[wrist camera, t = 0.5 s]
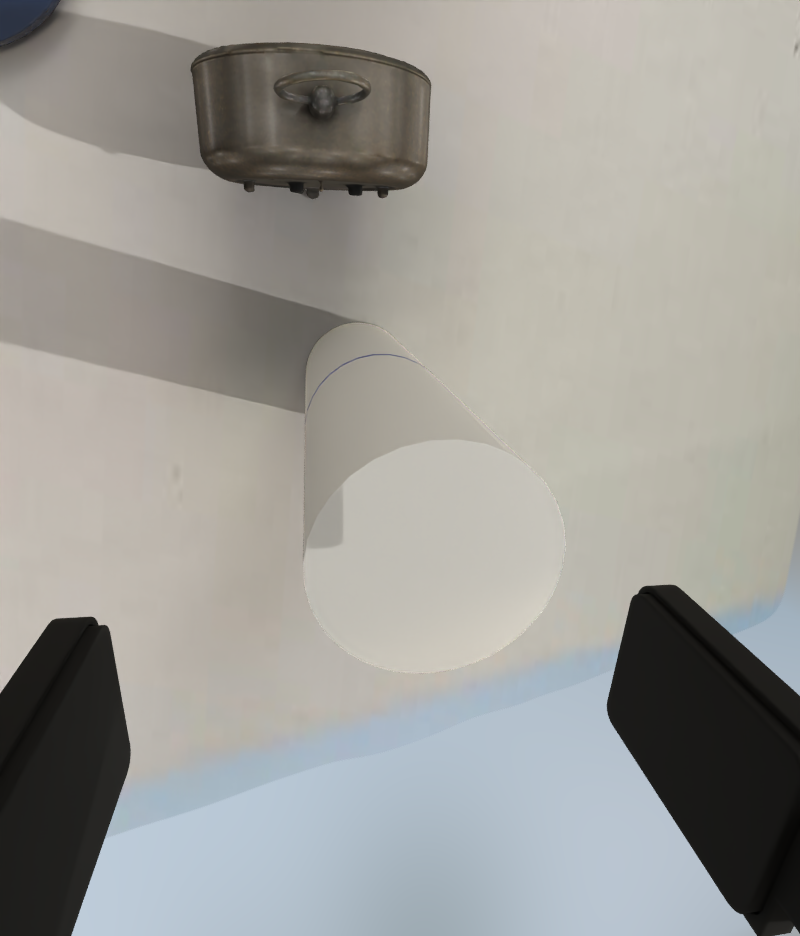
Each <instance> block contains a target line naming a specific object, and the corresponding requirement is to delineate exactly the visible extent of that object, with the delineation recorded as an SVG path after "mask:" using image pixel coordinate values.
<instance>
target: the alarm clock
mask: <svg viewBox="0 0 800 936" xmlns="http://www.w3.org/2000/svg"><path fill="white" fill-rule="evenodd" d="M191 73H192V77H193V84H194V94H195V105H196V114H197V124H198V134H199V144H200V153H201V157H202V159H203V161H204V163H205V164H206V165H207V167H208V168H209V169H210V170H211V171H212V172H213V173H214V174H216V175H217V176H219V177H221V178H222V179H224V180H227V181H230V182H235V183H241V184H244V189H245V191H247V192H254V185H259V186H272V187H284V188H290V191H291V192H295V193H303V191H304V189H307V195H308V197H309V198H311V199H316V198H318V196H319V190H320V192H322V191H323V190H348V193H349V195H352V196H360V195H361V194H362V191H378V196H379V197H380V198H385V197H387V195H388V190H400V189H404V188H407V187H410V186H412V185H413V184H415V183H416V182H417V181H419V180H420V178H421V177H422V176H423V174H424V172H425V170H426V167H427V157H428V137H429V114H430V94H431V82H430V80H429V78H428V77H427V76H426V75H425V74H424V73H423V72H422V71H421V70H419V69H417V68H416V67H415V66H413V65H410V64H408V63H406V62H404V61H400V60H397V59H394V58H390V57H386V56H384V55H381V54H377V53H372V52H369V51H365V50H360V49H353V48H347V47H339V46H330V45H321V44H308V43H289V42H286V43H252V44H237V45H228V46H221V47H219V48H214V49H212V50H208V51H206V52H204V53H202V54H201V55H199V56H198V57H197V58H196V59H195V60H194V61H193V63H192V65H191Z"/></svg>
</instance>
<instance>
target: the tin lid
mask: <svg viewBox="0 0 800 936" xmlns="http://www.w3.org/2000/svg"><path fill="white" fill-rule="evenodd" d="M59 2H60V0H0V46H2V45H5V44H9V43H11V42H13V41H15V40H18V39H20V38H22V37H24V36H26V35H27V34H28V33H30V32H31V31H33V30H34V29H36V28H37V27H38V26H39V25H40V24H41V23H42V22H43V21H44V20H45V19H46V18H47V17H48V16H49V15H50V14H51V13H52V12H53V10H54V9H55V7H56V6H57V5H58V3H59Z"/></svg>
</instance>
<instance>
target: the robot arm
mask: <svg viewBox="0 0 800 936" xmlns="http://www.w3.org/2000/svg"><path fill="white" fill-rule="evenodd" d="M607 711H608V716H609V719H610V721H611V723H612V725H613V726H614V728H615V730H616V731H617V733H618V734H619V735H620V737H621V739H622V740H623V742H624V744H625V745H626V747H627V748H628V750H629V751H630V753H631V754H632V756H633V757H634V759H635V760H636V762H637V763H638V765H639V766H640V768H641V770H642V771H643V773H644V774H645V776H646V777H647V779H648V781H649V782H650V784H651V785H652V787H653V788H654V790H655V791H656V793H657V794H658V796H659V798H660V799H661V801H662V802H663V804H664V805H665V807H666V808H667V810H668V811H669V813H670V814H671V816H672V817H673V819H674V821H675V822H676V824H677V825H678V827H679V828H680V830H681V831H682V833H683V835H684V836H685V838H686V839H687V841H688V842H689V844H690V845H691V847H692V848H693V850H694V851H695V853H696V855H697V856H698V858H699V859H700V861H701V862H702V864H703V865H704V867H705V868H706V870H707V872H708V873H709V875H710V876H711V878H712V879H713V881H714V882H715V884H716V885H717V887H718V889H719V890H720V892H721V893H722V895H723V896H724V898H725V899H726V901H727V902H728V904H729V905H730V906H731V907H732V908H733V909H734V910H735V911H736V912H738V913H740V914H743V915H744V916H745V918H746V920H747V921H748V922H749V924H750V926H751V927H752V929H753V930H754V932H755V933H756V934H757V936H775V935H780V934H786V933H791V931H792V929H793V927H794V926H795V927H796V929H797V930H798V932H799V933H800V696H799V695H798V694H797V693H796V692H795V691H794V690H793V689H791V688H790V687H789V686H788V685H787V684H786V683H785V682H784V681H783V680H781V679H780V678H779V677H778V676H777V675H776V674H775V673H774V672H772V671H771V670H770V669H769V668H768V667H767V666H766V665H765V664H764V663H762V662H761V661H760V660H759V659H758V658H757V657H756V656H755V655H753V653H751V652H750V651H749V650H748V649H747V648H746V647H745V646H744V645H742V644H741V643H740V642H739V641H738V640H737V639H736V638H735V637H734V636H732V635H731V634H730V633H729V632H728V631H727V630H726V629H725V628H724V627H722V626H721V625H720V624H719V623H718V622H717V621H716V620H715V619H714V618H712V617H711V616H710V615H709V614H708V613H707V612H706V611H705V610H704V609H702V608H701V607H700V606H699V605H698V604H697V603H696V602H695V601H694V600H692V599H691V598H690V597H689V596H688V595H687V594H686V593H685V592H683V591H682V590H681V589H680V588H679V587H677V586H676V585H656V586H645V587H642V588H641V589H640V591H639V593H638V594H637V595H634V596H633V598H632V600H631V603H630V607H629V611H628V616H627V620H626V624H625V628H624V633H623V637H622V641H621V645H620V650H619V654H618V658H617V662H616V667H615V671H614V675H613V680H612V684H611V688H610V692H609V697H608V701H607ZM130 751H131V750H130V742H129V736H128V731H127V725H126V720H125V714H124V708H123V703H122V697H121V692H120V686H119V680H118V675H117V669H116V663H115V658H114V652H113V647H112V641H111V635H110V631H109V628H108V626H106V625H98V623H97V621H96V619H95V618H94V617H78V618H60V619H54V620H52V621H51V622H50V623H49V624H48V626H47V627H46V629H45V630H44V632H43V633H42V634H41V636H40V637H39V639H38V640H37V642H36V643H35V644H34V646H33V647H32V649H31V650H30V652H29V653H28V655H27V656H26V657H25V659H24V660H23V662H22V663H21V665H20V666H19V667H18V669H17V670H16V672H15V673H14V675H13V676H12V678H11V679H10V680H9V682H8V683H7V685H6V686H5V688H4V689H3V691H2V692H1V693H0V936H71V934H72V932H73V928H74V926H75V923H76V920H77V917H78V914H79V911H80V908H81V905H82V902H83V900H84V897H85V894H86V891H87V888H88V885H89V882H90V879H91V876H92V874H93V871H94V868H95V865H96V862H97V859H98V856H99V853H100V850H101V848H102V844H103V842H104V839H105V836H106V833H107V830H108V827H109V824H110V821H111V819H112V816H113V813H114V810H115V807H116V804H117V801H118V798H119V795H120V792H121V790H122V787H123V784H124V781H125V778H126V775H127V772H128V768H129V763H130Z"/></svg>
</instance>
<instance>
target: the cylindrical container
mask: <svg viewBox="0 0 800 936" xmlns="http://www.w3.org/2000/svg"><path fill="white" fill-rule="evenodd" d="M565 549H566V542H565V529H564V522H563V518H562V515H561V512H560V509H559V506H558V503H557V500H556V499H555V497H554V496H553V494H552V492H551V491H550V489H549V487H548V486H547V484H546V483H545V481H544V480H543V479H542V478H541V477H540V476H539V475H538V474H537V473H536V472H535V471H534V470H533V469H532V468H531V467H530V466H529V465H528V464H527V463H526V462H525V461H524V460H523V459H522V458H520V457H519V456H518V455H517V454H516V453H515V452H514V451H513V450H512V449H511V448H510V447H509V446H508V445H507V444H506V443H505V442H504V441H503V440H502V439H501V438H499V437H498V436H497V435H496V434H495V433H494V432H493V431H492V430H491V429H490V428H489V427H488V426H487V425H486V424H485V423H484V422H483V421H482V420H481V419H480V418H478V417H477V416H476V415H475V414H474V413H473V412H472V411H471V410H470V409H469V408H468V407H467V406H466V405H465V404H464V403H463V402H462V401H461V400H460V399H459V398H458V397H456V396H455V395H454V394H453V393H452V392H451V391H450V390H449V389H448V388H447V387H446V386H445V385H444V384H443V383H442V382H441V381H440V380H439V379H438V378H437V377H435V376H434V375H433V374H432V373H431V372H430V371H429V370H428V369H427V368H426V367H425V366H424V365H423V364H422V363H420V362H419V361H418V360H417V359H416V358H415V357H414V356H413V355H412V354H411V353H410V352H409V351H408V350H407V349H406V348H405V347H404V346H403V345H401V344H400V343H399V342H398V341H397V340H396V339H395V338H394V337H393V336H392V335H391V334H390V333H388V332H387V331H385V330H384V329H382V328H380V327H377V326H375V325H372V324H367V323H349V324H344V325H340V326H338V327H336V328H334V329H331V330H330V331H329V332H327V333H326V334H325V335H323V336H322V337H321V338H320V339H319V341H318V342H317V343H316V344H315V346H314V347H313V349H312V351H311V353H310V355H309V358H308V361H307V367H306V388H305V459H304V533H303V571H304V588H305V591H306V595H307V598H308V601H309V605H310V608H311V611H312V613H313V614H314V616H315V618H316V619H317V621H318V623H319V624H320V626H321V628H322V629H323V631H324V632H325V633H326V634H327V635H328V636H329V637H330V638H331V639H332V640H333V641H334V642H335V643H336V644H337V645H338V646H339V647H340V648H342V649H343V650H345V651H346V652H348V653H349V654H351V655H352V656H354V657H355V658H357V659H358V660H361V661H363V662H365V663H368V664H370V665H373V666H375V667H377V668H382V669H386V670H390V671H395V672H401V673H417V674H424V673H434V672H444V671H449V670H453V669H456V668H460V667H464V666H468V665H471V664H473V663H475V662H477V661H480V660H482V659H484V658H486V657H489V656H491V655H493V654H495V653H496V652H498V651H499V650H501V649H502V648H504V647H505V646H507V645H508V644H510V643H512V642H513V641H514V640H515V639H516V638H518V637H519V636H520V635H521V634H522V633H523V632H524V631H525V630H526V629H528V628H529V627H530V626H531V625H532V623H533V622H534V621H535V620H536V618H537V617H538V616H539V615H540V614H541V612H542V611H543V610H544V608H545V607H546V605H547V603H548V601H549V600H550V598H551V596H552V595H553V593H554V591H555V589H556V586H557V583H558V580H559V578H560V575H561V572H562V569H563V562H564V556H565Z"/></svg>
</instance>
